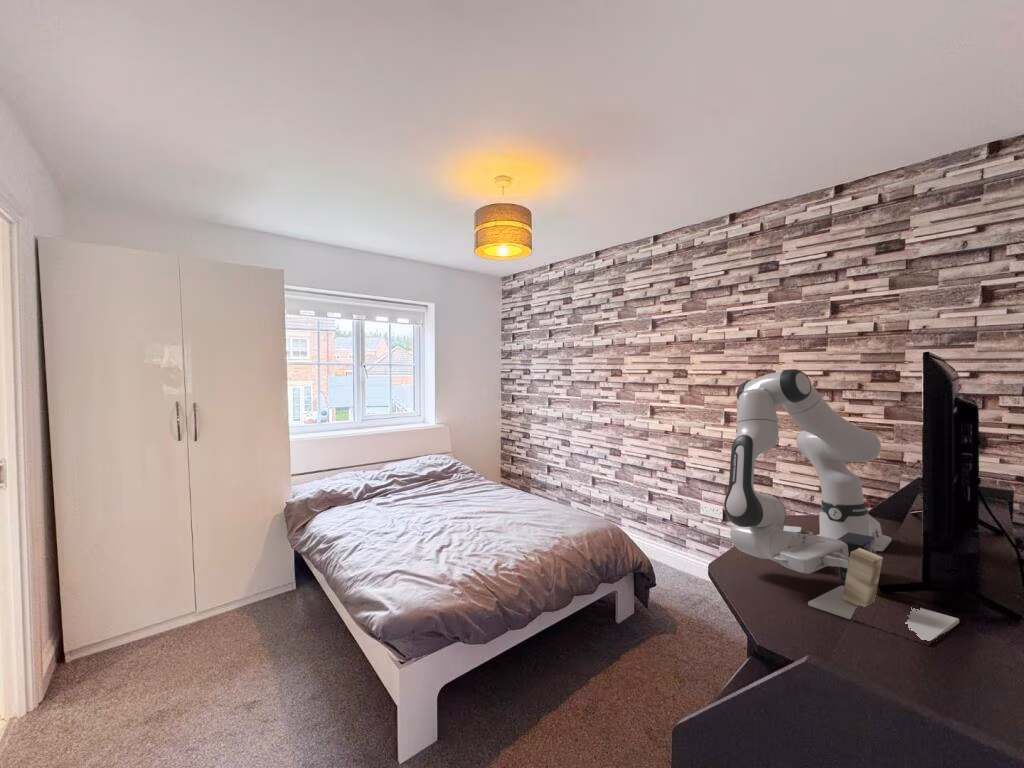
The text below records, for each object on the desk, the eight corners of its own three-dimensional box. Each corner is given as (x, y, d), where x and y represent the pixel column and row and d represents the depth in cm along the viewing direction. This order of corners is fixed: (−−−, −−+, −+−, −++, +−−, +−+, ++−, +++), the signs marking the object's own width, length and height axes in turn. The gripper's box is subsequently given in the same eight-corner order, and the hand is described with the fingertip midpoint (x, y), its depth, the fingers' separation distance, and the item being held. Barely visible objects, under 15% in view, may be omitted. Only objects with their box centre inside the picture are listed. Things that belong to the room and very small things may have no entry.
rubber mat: (841, 588, 110) (841, 585, 110) (959, 622, 91) (958, 618, 91) (808, 605, 102) (807, 602, 103) (928, 646, 83) (928, 642, 83)
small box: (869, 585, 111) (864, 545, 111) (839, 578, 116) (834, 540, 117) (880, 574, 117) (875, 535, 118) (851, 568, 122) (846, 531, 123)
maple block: (851, 593, 103) (859, 547, 101) (874, 604, 99) (882, 557, 97) (842, 598, 101) (850, 551, 99) (864, 609, 97) (873, 561, 95)
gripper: (766, 545, 109) (826, 559, 96) (810, 530, 118) (869, 541, 106) (769, 570, 108) (830, 588, 96) (812, 552, 118) (873, 567, 105)
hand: (851, 563), depth 101 cm, fingers closed
